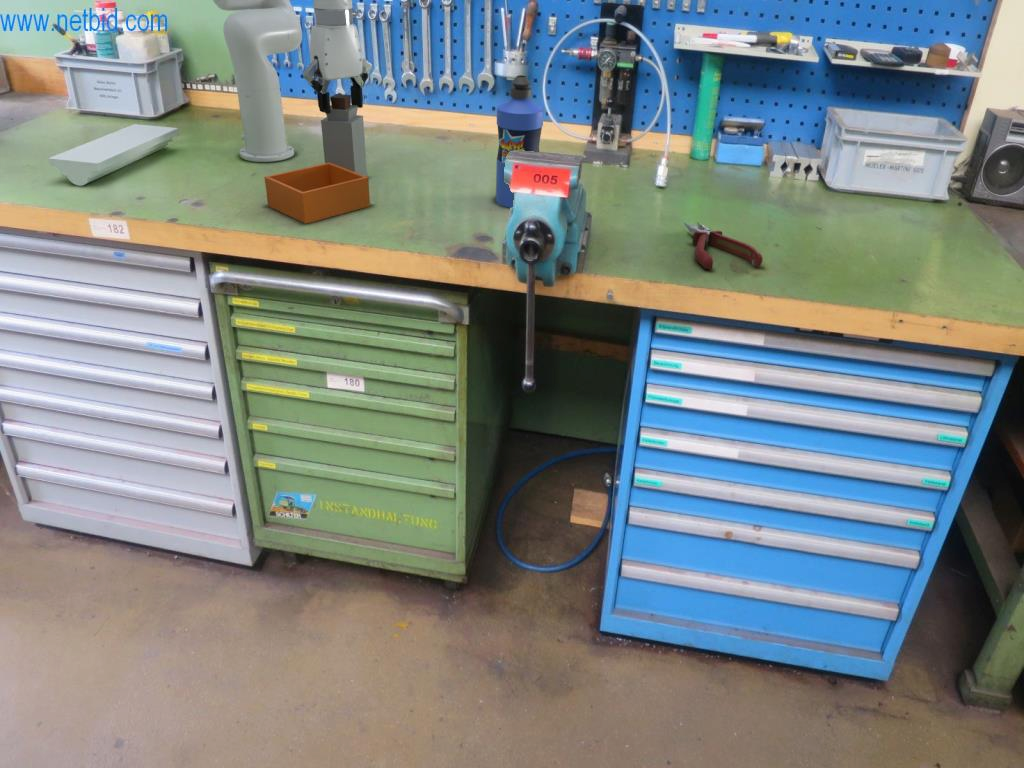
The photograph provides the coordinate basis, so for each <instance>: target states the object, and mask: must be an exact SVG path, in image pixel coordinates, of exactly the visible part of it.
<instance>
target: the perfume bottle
mask: <svg viewBox="0 0 1024 768" xmlns="http://www.w3.org/2000/svg"><path fill="white" fill-rule="evenodd" d="M329 97H330V108H331V112H330V113H329V114H327V113H325V115H326V117H324V118H323V119H321V120H320V125H321V127H320V128H321V137H322V146H323V147H322V148H323V155H324V156H323V158H324V163H329V162H330V163H332V164H335V165H337V166H340V167H343V168H345V169H348V170H350V171H353V172H355V173H358V174H361V175H363V176H366V177H368V172H367V171H368V169H367V155H366V141H365V140H366V139H365V126H364V123H365V122H364V115H361V114H360V115H359V114H358V110H359V108H358V105H352V104H351V94H343V93H342V94H341V93H335V94H333V95H331V96H329Z"/></svg>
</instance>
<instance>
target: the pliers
mask: <svg viewBox="0 0 1024 768" xmlns="http://www.w3.org/2000/svg"><path fill="white" fill-rule="evenodd" d="M683 225H684V226H685V227H686V229H687V230H688V232H690V234H691V235H692V244H693V246H696V247H695V250H694V258H695V260H696V262H697V263H698V264H699V265H700V266H701V267H703V269H705V270H712V269H713V265H714V260H713V257H712V255H711V254H709V253H708V251H706V250H705V249H706V244H708V245H709V246H711V247H715V248H717V249H721V250H723V251H726V252H728V253H731V254H734V255H737V256H739V257H741V258H743V259H746V260H747V261H748V262H749V263H750V264H751V265H752V266H753V267H760V266H761V265H762V264H763V261H764V259H763V255H762V253H760V252H759V251H758V250H757V249H756V248H755V247H754V246H751V245H750V244H747V243H746V242H743V241H740V240H737V239H735V238H732V237H728V236H727V235H726V236H725V235H723V231H722V230H718V229H717V230H712V231H711V229H710V228H709V227H707V226H706V225H704V224H702V223H700V222H697V225H695V224H693V223H689V222H685V221H684V222H683Z"/></svg>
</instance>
